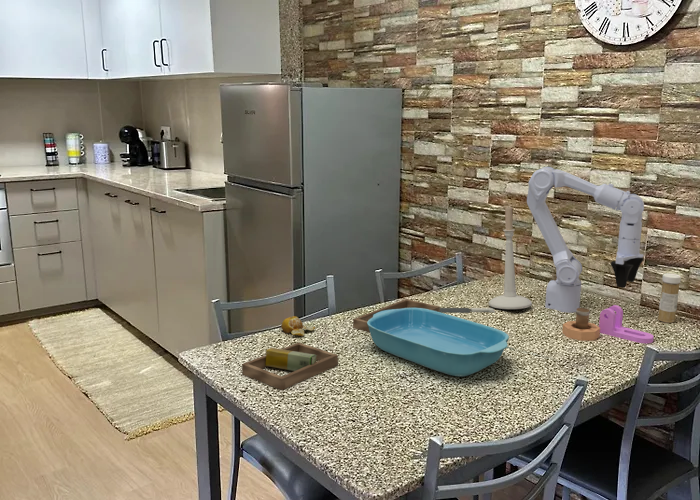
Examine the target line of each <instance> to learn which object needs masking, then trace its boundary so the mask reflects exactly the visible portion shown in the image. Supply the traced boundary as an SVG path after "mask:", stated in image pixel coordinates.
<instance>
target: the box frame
mask: <svg viewBox="0 0 700 500" xmlns="http://www.w3.org/2000/svg"><path fill="white" fill-rule="evenodd" d="M282 349H283V350H289V351H295V352H302V353H308V354H315V355H317V357H316V362H315V363H314V364H313V365H308V366H306V367H303V368H301V369H299V370H296V371H292V372H290V373H287V374H285V375H283V376H281V375H279V374H276V373H274V372H270V371H268V370H266V369H265V368H268V367H269V366H266V354H265V355H264V354H263V355H262V356H259V357H257V358H254V359H251V360H249V361H245V362H243V363H242V364H241V370H242V371H241V374H242V376H246V377H247V378H251V379H253V380H256V381H257V382H261V383H263V384H266V385H268V386H271V387H272V388H273V387H274V388H276V389H278V390H280V391H283V390H285V389H288V388H290V387H292V386H294V385H298V384H299V383H301V382H304V381H306V380H308V379H310V378H312V377H314V376H316V375H317V376H318V375H319V374H321V373H324V372H326V371H329V370H330V369H332V368H335V367H337V366H339V355H338V354H335V353H332V352H329V351H326V350H323V349H320V348H317V347H314V346H310V345H308V344H305V343H301V342H297V343H294V344H292V345H291V344H290V345H289V346H285V347H283V348H282Z"/></svg>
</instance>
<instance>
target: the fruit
mask: <svg viewBox="0 0 700 500" xmlns="http://www.w3.org/2000/svg"><path fill="white" fill-rule="evenodd" d="M280 328H281V330H282V331H283V332H284V333H285V334H287V333H288V334H290V333H291V336H300V337H301V336H302V337H303V336H305V330H308V331H314V330H315V329H316V327H315V326H306V325H303V322H302V320H301V319H300V318H299V317H298V316H295V315H293V316H289V317H286V318H284V320H282V322H281V326H280Z"/></svg>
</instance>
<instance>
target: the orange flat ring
mask: <svg viewBox="0 0 700 500" xmlns="http://www.w3.org/2000/svg"><path fill="white" fill-rule="evenodd" d="M575 324H576V320H569V321H568V320H567V321H566V322H565V323H563V324H562V331H561V332H562V334H563V335H564V336H565V337H566V338H567V339H571V340H576V341H581V342H582V341H583V342H584V341H587V342H588V341H596V340H597V339H599V338H600V337H601V335H600V334H601V333H600V328H599V325H596V324H595V323H593V322H589V323H588V329H583V330H581V329H577V328H575Z"/></svg>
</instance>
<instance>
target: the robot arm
mask: <svg viewBox="0 0 700 500" xmlns="http://www.w3.org/2000/svg"><path fill="white" fill-rule="evenodd" d="M527 184H528V188H527V196H526V204H527V207H528V209H529V211H530V213H531V214H532V217H533V219H534V221H535V223H536V225H537V227H538V229H539V232H540V234H541V235H542V238H543V239H544V241H545V244H546V245H547V247H548V250H549V252H550V253H551V256H552V260H553V265H554V267H555V269H556V270H555V271H556V275H555V276H556V279H555V280H554V279H551V280H550V281H549V282H548V283H547V286H546V289H545V290H546V291H545V305H544V307H545V309H548V310H549V309H550V310H555V311H558V312H563V313H576V309H577V308H581V292H582V281H581V279H580V275H581V274H582V271H583V265H582V263H581V262H580V261H579V260H578V259H577V258H575V256H574V253H572V251H571V250H570V248H568V245H567V243H566V241H565V239H564V237H563V236H562V233H561V231H560V229H559V227H558V225H557V223H556V220H555V218H554V217H553V214H552V213H551V211H550V208H549V207H548V204H547V203H546V200H547V198H548V196H549V193H550V191H551V189H553V187H554V189H556V188H562V187H563V188H564V187H567V188H571V189H572V190H576V191H579V192H581V193H584V194H587V195H589V196H592V197H593V200H594V201H595V202H596V203H597V204H600V205H602V206H605V207H607V208H609V209H612V210H614V211H620V212H621V219H620V221H619V229H618V230H619V232H618V240H617V252H616V254H615V255H616V257H615V260H613V261H611V262H610V266H611V267H612V270H613V273H614V277H615V283H616V287H617V288H623V289H624V288H626V286H627V284H628V283H634V282H635V279H636V276H637V274H638V270H639V269H640V266H641V264H642V263H643V262H644V256H645V255H644V254H643V253H640V251H641V241H642V240H641V239H642V228H643V222H642V220H643V212H644V210H645V202H644V200H643V198H642V197H641V196H640V195H638V194H636V193H631V191H629V190H627V191H624V190H623V189H619V188H617V187H615V184H613V183H608V184H607V183H603V184H600V185H598V184H595V183H592V182H590V181H588V180H586V179H583V178H581V177H579V176H577V175H574V174H572V173H570V172H567V171H564V170H561V169H557V168H556V169H555V168H553V167H551V166H544V167H541V168H539V169H536V170H535V171H534V172H533V173H532V175H531V177H530V178H529V181H528V182H527Z"/></svg>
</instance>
